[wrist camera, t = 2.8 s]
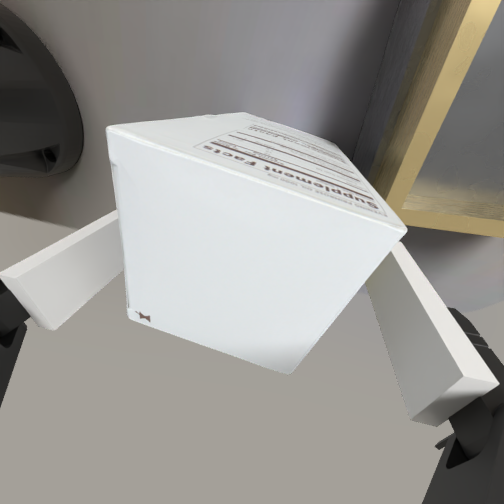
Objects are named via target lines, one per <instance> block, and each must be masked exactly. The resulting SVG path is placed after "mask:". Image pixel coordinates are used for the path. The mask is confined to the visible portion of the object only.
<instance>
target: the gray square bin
mask: <svg viewBox="0 0 504 504" xmlns="http://www.w3.org/2000/svg"><path fill="white" fill-rule="evenodd" d="M352 164H353V165H354V166H355V167H356V168H357V169H358V171H359V172H360V173H361V174H362V176H363V177H364V178H365V179H366V180H367V181H368V182H369V183H370V185H371V186H372V187H373V188H374V189H375V190H376V192H377V193H378V194H379V195H380V196H381V197H382V198H383V200H384V201H385V202H386V203H387V204H388V206H389V207H390V208H391V209H392V210H393V211H394V212H395V214H396V215H397V216H398V217H399V218H400V220H401V221H402V222H403V223H404V225H409V226H416V227H424V228H432V229H439V230H447V231H455V232H462V233H470V234H477V235H485V236H493V237H500V238H504V0H400V3H399V6H398V10H397V13H396V16H395V20H394V23H393V26H392V30H391V33H390V36H389V39H388V43H387V46H386V49H385V53H384V56H383V59H382V63H381V66H380V69H379V73H378V76H377V79H376V83H375V86H374V89H373V93H372V96H371V99H370V103H369V106H368V109H367V113H366V116H365V119H364V123H363V126H362V129H361V133H360V136H359V139H358V143H357V146H356V149H355V153H354V156H353V159H352Z"/></svg>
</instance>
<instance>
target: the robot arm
mask: <svg viewBox="0 0 504 504" xmlns="http://www.w3.org/2000/svg"><path fill="white" fill-rule="evenodd" d="M82 143H83V132H82V123H81V118H80V114H79V110H78V107H77V104H76V101H75V98H74V96H73V93H72V91H71V89H70V86H69V84H68V82H67V80H66V78H65V76H64V75H63V73H62V71H61V69H60V68H59V66H58V64H57V63H56V61H55V60H54V58H53V57H52V55H51V54H50V52H49V51H48V50H47V48H46V47H45V46H44V44H43V43H42V42H41V41H40V39H39V38H38V37H37V36H36V35H35V34H34V33H33V31H32V30H31V29H30V28H29V27H28V26H27V25H26V24H25V23H24V22H23V21H22V20H21V19H19V18H18V17H17V16H16V15H15V14H14V13H12V12H11V11H10V10H9V9H7V8H6V7H4V6H3V5H1V4H0V176H8V177H34V178H36V177H46V176H50V175H54V174H57V173H61V172H64V171H67V170H68V169H70V168H71V167H72V166H74V164H75V163H76V162H77V160H78V158H79V156H80V153H81V150H82ZM122 270H124V262H123V254H122V245H121V237H120V228H119V220H118V212H117V210H115V211H113V212H111V213H109V214H107V215H106V216H104V217H102V218H100V219H98V220H96V221H95V222H93V223H91V224H89V225H87V226H85V227H83V228H82V229H80V230H78V231H76V232H74V233H72V234H70V235H69V236H67V237H65V238H63V239H61V240H60V241H57V242H56V243H54V244H52V245H50V246H48V247H47V248H44V249H43V250H41V251H39V252H37V253H35V254H33V255H32V256H30V257H28V258H26V259H24V260H22V261H20V262H19V263H17V264H15V265H13V266H11V267H9V268H7V269H6V270H4V271H2V272H0V407H1V404H2V401H3V398H4V395H5V392H6V389H7V386H8V383H9V380H10V378H11V375H12V371H13V369H14V366H15V363H16V360H17V357H18V354H19V351H20V348H21V345H22V342H23V339H24V336H25V333H26V331H27V326H26V324H25V323H24V321H26V320H27V319H28V318H30V317H31V318H32V319H33V320H34V322H35V323H36V324H37V325H38V327H42V328H46V329H50V330H56V329H57V328H58V327H59V326H60V325H61V324H63V323H64V322H65V321H66V320H67V319H68V318H69V317H70V316H72V315H73V314H74V313H75V312H76V311H77V310H78V309H80V308H81V307H82V306H83V305H84V304H85V303H86V302H87V301H89V300H90V299H91V298H92V297H93V296H94V295H95V294H96V293H98V292H99V291H100V290H101V289H102V288H103V287H104V286H106V284H108V283H109V282H110V281H111V280H112V279H113V278H115V276H117V275H118V274H119V273H120V272H121V271H122ZM365 284H366V287H367V290H368V293H369V296H370V299H371V302H372V305H373V308H374V311H375V314H376V317H377V320H378V323H379V326H380V329H381V332H382V335H383V338H384V341H385V344H386V348H387V351H388V354H389V356H390V360H391V363H392V366H393V369H394V372H395V375H396V378H397V381H398V384H399V387H400V390H401V393H402V396H403V399H404V402H405V405H406V408H407V411H408V414H409V417H410V420H412V421H416V422H420V423H424V424H428V425H432V426H436V427H438V426H439V425H440V424H442V423H443V422H445V421H446V420H448V419H449V421H450V423H451V425H452V428H453V429H454V433H453V434H451V435H450V436H448V437H446V438H445V439H443V440H441V441H440V442H438V443H437V444H436V445H435V447H436V448H437V449H439V450H440V449H441V448H443V447H445V448H444V451H443V453H442V456H441V458H440V460H439V463H438V465H437V468H436V471H435V473H434V475H433V478H432V480H431V483H430V485H429V488H428V490H427V493H426V495H425V498H424V500H423V502H422V504H504V366H503V364H502V363H501V362H500V360H499V359H498V358H497V356H496V355H495V354H494V352H493V351H492V350H491V349H489V348H488V345H487V343H486V342H485V340H484V339H483V338H482V337H480V334H479V333H478V331H477V330H476V329H475V327H474V326H473V325H472V323H471V322H470V321H469V320H468V319H467V318H466V317H464V316H463V315H462V314H461V313H460V312H458V311H457V310H456V309H454V308H449V307H446V306H445V304H444V303H443V301H442V300H441V299H440V297H439V296H438V294H437V293H436V291H435V290H434V288H433V287H432V286H431V284H430V283H429V281H428V280H427V278H426V277H425V276H424V274H423V273H422V271H421V270H420V268H419V267H418V265H417V264H416V263H415V261H414V260H413V258H412V257H411V255H410V254H409V252H408V251H407V250H406V248H405V247H404V245H403V244H402V242H397V244H396V245H395V246H394V247H393V248H392V250H391V251H390V252H389V253H388V255H387V256H386V257H385V258H384V259H383V261H382V262H381V263H380V264H379V266H378V267H377V268H376V269H375V270H374V272H373V273H372V274H371V275H370V276H369V278H368V279H367V280H366V281H365Z"/></svg>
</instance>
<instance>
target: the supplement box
mask: <svg viewBox="0 0 504 504" xmlns="http://www.w3.org/2000/svg"><path fill="white" fill-rule="evenodd" d="M106 137H107V144H108V152H109V159H110V162H111V169H112V177H113V184H114V191H115V199H116V207H117V212H118V220H119V228H120V237H121V245H122V254H123V262H124V272H125V284H126V298H127V316H128V318H129V319H131V320H134V321H136V322H139V323H142V324H145V325H147V326H150V327H153V328H156V329H158V330H161V331H164V332H167V333H169V334H172V335H176V336H178V337H181V338H184V339H187V340H190V341H192V342H195V343H198V344H201V345H204V346H207V347H209V348H212V349H215V350H218V351H221V352H224V353H226V354H229V355H232V356H235V357H238V358H240V359H243V360H246V361H249V362H251V363H254V364H257V365H259V366H263V367H265V368H268V369H271V370H275V371H277V372H281V373H284V374H289V375H290V374H292V372H293V371H294V370H295V369H296V367H297V366H298V365H299V364H300V362H301V361H302V360H303V358H304V357H305V356H306V355H307V353H308V352H309V351H310V350H311V349H312V347H313V346H314V345H315V344H316V342H317V341H318V340H319V339H320V337H321V336H322V335H323V334H324V332H325V331H326V330H327V328H329V326H330V325H331V324H332V322H333V321H334V320H335V319H336V317H337V316H338V315H339V314H340V313H341V311H342V310H343V309H344V307H345V306H346V305H347V304H348V302H349V301H350V300H351V299H352V298H353V296H354V295H355V294H356V293H357V291H358V290H359V289H360V287H361V286H362V285H363V284H364V282H365V281H366V280H367V279H368V278H369V276H370V275H371V274H372V273H373V272H374V270H375V269H376V268H377V267H378V266H379V264H380V263H381V262H382V261H383V259H384V258H385V257H386V256H387V255H388V253H389V252H390V251H391V250H392V248H393V247H394V246H395V245H396V244H397V242H398V241H399V240H400V239H401V238H402V237H403V236H404V235H405V233H406V232H407V227H406V226H405V225H404V223H403V222H402V221H401V220H400V218H399V217H398V216H397V215H396V214H395V212H394V211H393V210H392V209H391V208H390V207H389V206H388V204H387V203H386V202H385V201H384V200H383V198H382V197H381V196H380V195H379V194H378V193H377V192H376V190H375V189H374V188H373V187H372V186H371V185H370V183H369V182H368V181H367V180H366V179H365V178H364V177H363V176H362V174H361V173H360V172H359V171H358V169H357V168H356V167H355V166H354V165H353V164H352V163H351V161H350V160H349V159H348V158H347V157H346V156H345V155H344V154H343V152H342V151H341V150H340V149H339V148H338V146H337V145H336V144H335V143H333V142H330V141H328V140H325V139H323V138H320V137H317V136H314V135H312V134H309V133H306V132H303V131H300V130H297V129H294V128H291V127H288V126H285V125H282V124H279V123H276V122H272V121H269V120H266V119H263V118H260V117H257V116H254V115H251V114H248V113H245V112H240V113H230V114H220V115H204V116H195V117H188V118H178V119H169V120H159V121H146V122H137V123H128V124H118V125H111V126H108V127H107V128H106Z"/></svg>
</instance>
